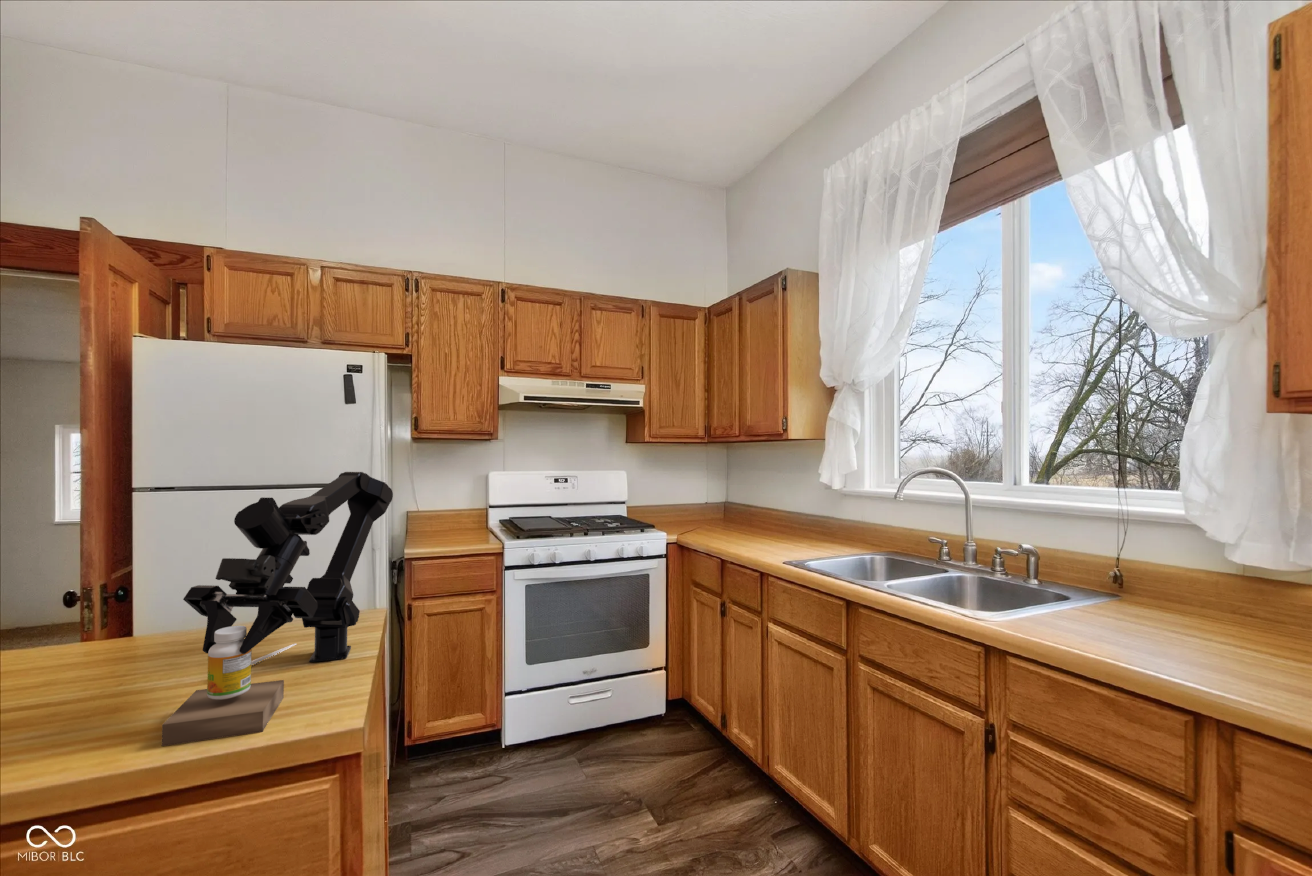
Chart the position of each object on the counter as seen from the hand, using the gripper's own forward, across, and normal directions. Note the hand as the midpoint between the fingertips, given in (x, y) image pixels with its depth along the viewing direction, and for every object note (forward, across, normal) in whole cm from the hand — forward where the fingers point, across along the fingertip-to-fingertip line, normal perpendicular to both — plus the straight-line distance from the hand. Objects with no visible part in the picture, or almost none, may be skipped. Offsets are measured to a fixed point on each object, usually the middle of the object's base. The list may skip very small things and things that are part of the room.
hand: (223, 652), depth 86 cm
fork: (-9, -12, +26) cm, 30 cm away
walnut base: (+7, 0, +8) cm, 11 cm away
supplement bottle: (+4, 0, +6) cm, 7 cm away
